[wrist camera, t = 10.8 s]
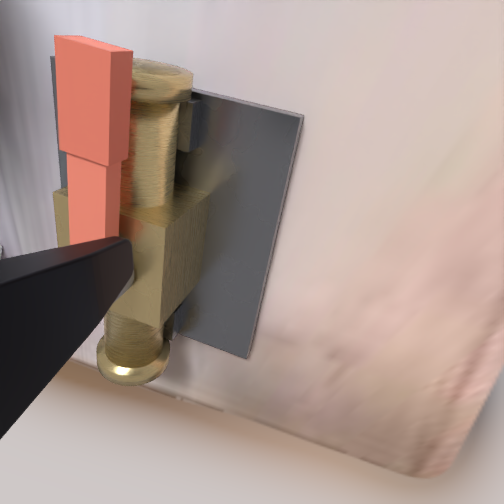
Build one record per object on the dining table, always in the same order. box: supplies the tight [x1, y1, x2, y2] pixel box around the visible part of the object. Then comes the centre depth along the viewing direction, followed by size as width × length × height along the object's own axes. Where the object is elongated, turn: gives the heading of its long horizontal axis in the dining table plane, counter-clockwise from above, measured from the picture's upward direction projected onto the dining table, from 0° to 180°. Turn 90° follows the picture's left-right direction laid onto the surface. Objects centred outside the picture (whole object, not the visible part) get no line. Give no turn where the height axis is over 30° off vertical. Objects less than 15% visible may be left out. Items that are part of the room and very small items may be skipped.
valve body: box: [50, 56, 304, 386], centre depth 22 cm, size 18×14×6 cm
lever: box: [54, 35, 134, 302], centre depth 17 cm, size 12×3×2 cm, turn 168°
